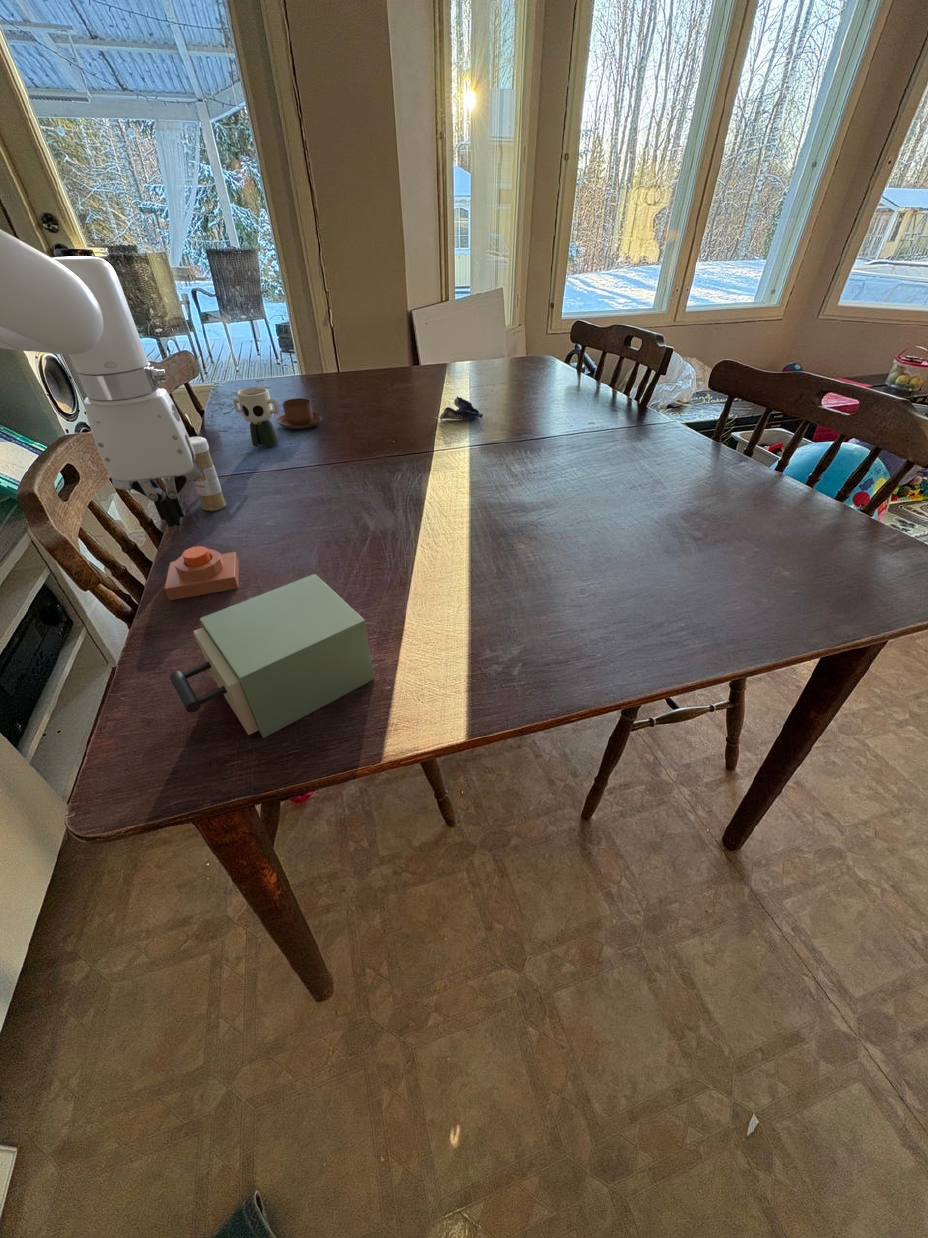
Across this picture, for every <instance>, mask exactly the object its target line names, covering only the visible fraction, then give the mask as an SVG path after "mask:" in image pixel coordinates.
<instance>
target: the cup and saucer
mask: <svg viewBox="0 0 928 1238" xmlns="http://www.w3.org/2000/svg"><path fill="white" fill-rule="evenodd" d="M281 404H282V408H283V412H284V414H282V415H281V416H279V417H278V418H277V419H276V422H277V424H278V425H279V426H281V427H282V428H285V429H290V430H304V429H309V428H312V427H315V426H317V425H319V424H320V423H321V422H322V420H323V416H322V415H321V414H320V413H318V412H314V411H313V407H312V403H311V399H308V398H300V397H299V398H297V397H296V398H290V399H287V400H284V401H283V402H282V403H281ZM313 416H314V417H313Z"/></svg>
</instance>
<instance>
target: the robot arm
mask: <svg viewBox="0 0 928 1238" xmlns="http://www.w3.org/2000/svg"><path fill="white" fill-rule="evenodd" d="M0 349H4V350H5V349H6V350H14V351H23V352H35V353H36V352H37V353H45V354H46V353H47V354H55V355H63V356H68V357H69V359H70V361H71V363H72V366H73V368H74V370H75V372H76V374H77V377H78V379H79V381H80V383H81V385H82V387H83V390H84V393H85V394H86V397H85V398H84V400H83V404H84V410H85V413H86V418H87V421H88V425H89V429H90V432H91V435H92V438H93V441H94V443H95V444H94V445H95V446H96V449H97V451H98V455H99V458H100V460H101V462H102V465H103V467H104V469H105V471H106V472H107V475H108V477H110V478H111V481H112V482H111V484H112V486H113V488H114V489H117V490H128V491H130V490H133V491H134V492H137V493H139V494H141V495H143V496H145V497H146V498H147V499H148V500H149V501H150V502H153V504H154V506H155V508H156V510H157V513H158V515H159V518H160V520H161V521H163V520H165V522H166V525H167V527H168V528H173V527H174V526H176V527H181V526H182V523H183V519H184V518H185V517H186V516H187V515H186V510H185V507H184V505H183V502H182V499H181V497H180V492H181V491H182V490H183V488H184V486H185V485H186V484H187V483H188V484H189V483H192V482H194V480H197V479H199V478H201V475H202V471H201V469H200V468H199V466H198V465H197V463H196V462H195V452H194V449H193V446H192V444H191V441H190V439H189V438H190V435H189V433H188V432H187V429H186V427H185V423H184V422H183V420H182V418H181V415H180V413H179V411H178V409H177V406H176V405H175V403H174V401H173V399H172V398H171V396H170V394H169V393H168V390H166V389H165V388H159V386H160V384H163V383H168V382H169V377H168V374H167V372H166V370H165V369H158V368H155V367H154V366H152V363H151V362H150V361H149V360H148V357H147V354H146V352H145V349H144V346H143V343H142V339H141V337H140V334H139V331H138V329H137V326H136V324H135V321H134V318H133V315H132V312H131V310H130V307H129V304H128V301H127V299H126V296H125V292H124V290H123V287H122V285H121V282H120V279H119V277H118V274H117V272H116V271H115V269H114V267H113V266H112V265H111V263H109V262H108V261H107V260H105V259H103V258H101V257H97V256H87V255H85V256H84V255H82V256H81V255H80V256H79V255H78V256H77V255H75V256H74V255H73V256H55V257H51V256H49V255H48V254H45V253H43V252H42V251H40V250H38V249H36V248H35V247H33V246H31V245H29V244H28V243H26V242H24V241H22V240H21V239H19V238H18V237H15V236H13V235H12V234H10V233H8V232H7V231H5V230H2V229H0ZM157 479H163V482H164V486H165V491H164V490H163V489H162V488H161V487H160V484H159V483H158V482H157Z"/></svg>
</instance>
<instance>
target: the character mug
mask: <svg viewBox="0 0 928 1238" xmlns="http://www.w3.org/2000/svg"><path fill="white" fill-rule="evenodd" d="M232 400H233V401H232V402H233V405H234V409H235V412H236V413H239V414H240V413H241V414H242V417H243V418H244V419H245V421H247V422H250V423H249V431H250V432H249V433H250V438H251V444H252V446H253V447H255V448H260V446H261V447H262V448H271V447H273V446H275V445H276V444H278V442H279V438H278V435H277V432H276V430H275V427H274V424H273V423H272V422H271V419H272V418H274V414H276V415H277V414H280V409H279V408H280V407H279V403H278V401H277V399H276V398H271V396H270V392H269V389H268V388H265V387H259V386H258V387H247V388H242V389H239V390H238V391H237V398H233V399H232ZM273 407H274V409H273Z"/></svg>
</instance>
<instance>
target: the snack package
mask: <svg viewBox="0 0 928 1238" xmlns="http://www.w3.org/2000/svg"><path fill="white" fill-rule="evenodd" d="M453 404H454V406H455V407H456V408H457V409H456V410H455V409H453V408H452V407H450V406H447V407H445V409H444V410H443V412H442V413H441V414H440V416H438V418H439V421H442V420H468V419H472V418H474V417H476V418H478V419H479V418H480V419H483V416H484V414H483V413H481V412H480V411H479V410H478V409H477V408H474V406H473V403H472V402H470V401H469V400H467V399H464V398H462V397H459V396H456V398H455V399H454V400H453Z"/></svg>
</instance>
